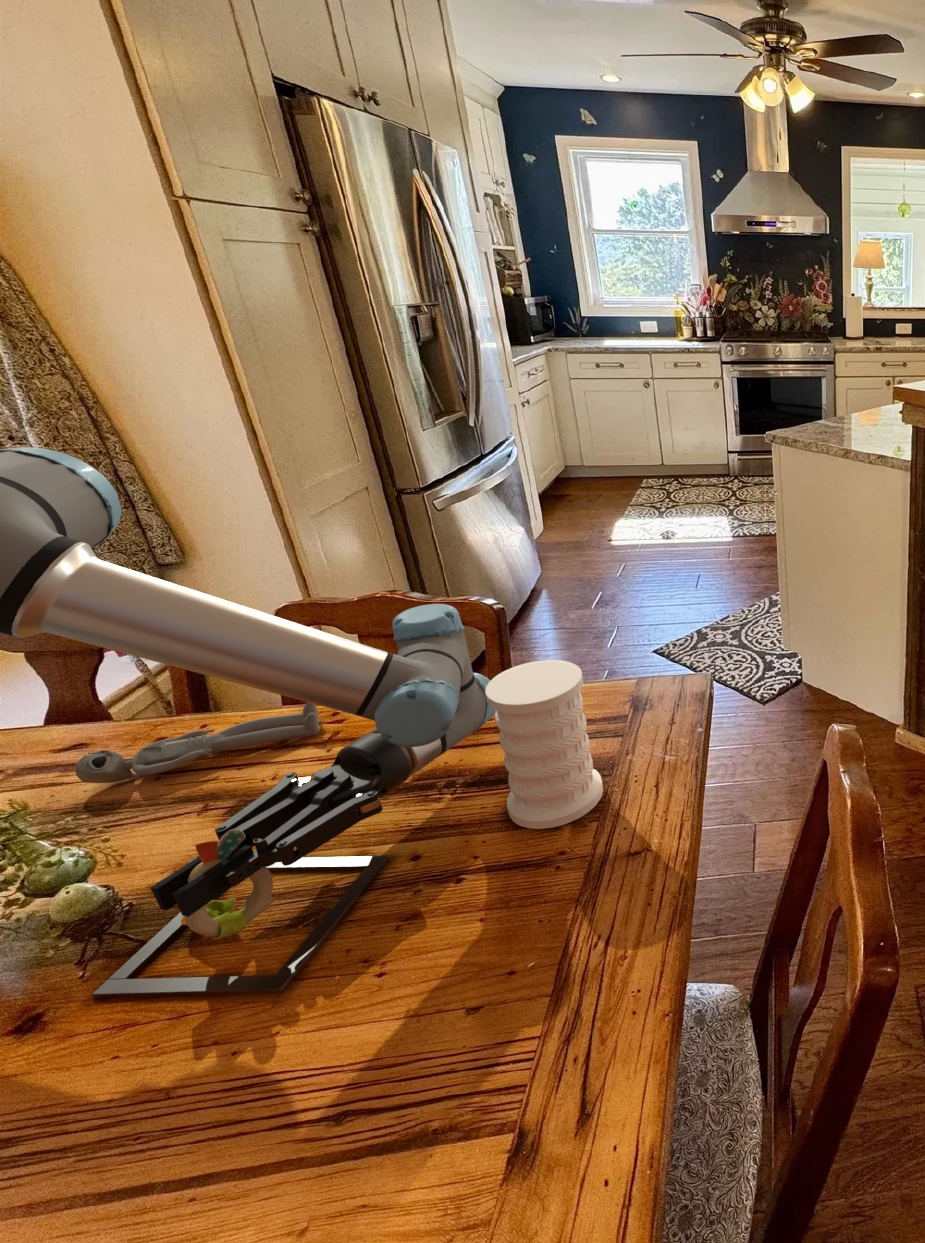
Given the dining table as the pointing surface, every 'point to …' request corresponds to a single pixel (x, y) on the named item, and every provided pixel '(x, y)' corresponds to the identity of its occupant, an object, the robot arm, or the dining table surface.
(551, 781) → the decorative container
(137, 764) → the alien figure
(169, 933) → the spot frame
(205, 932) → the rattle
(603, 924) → the dining table surface
